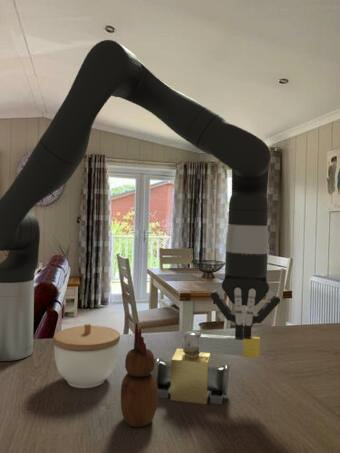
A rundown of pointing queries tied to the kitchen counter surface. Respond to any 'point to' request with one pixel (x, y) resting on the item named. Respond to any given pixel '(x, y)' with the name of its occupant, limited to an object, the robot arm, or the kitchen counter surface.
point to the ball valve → (191, 378)
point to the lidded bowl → (86, 354)
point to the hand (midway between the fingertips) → (242, 344)
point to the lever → (221, 344)
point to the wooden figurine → (139, 384)
